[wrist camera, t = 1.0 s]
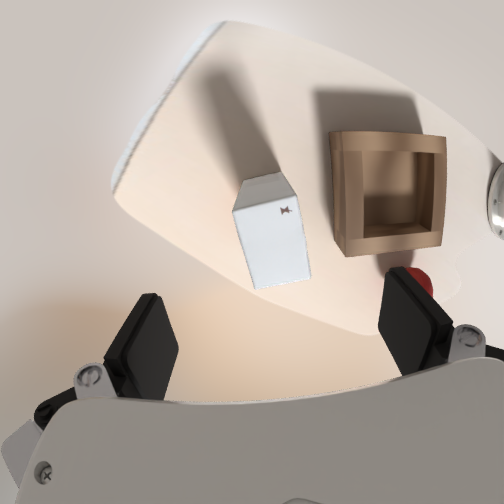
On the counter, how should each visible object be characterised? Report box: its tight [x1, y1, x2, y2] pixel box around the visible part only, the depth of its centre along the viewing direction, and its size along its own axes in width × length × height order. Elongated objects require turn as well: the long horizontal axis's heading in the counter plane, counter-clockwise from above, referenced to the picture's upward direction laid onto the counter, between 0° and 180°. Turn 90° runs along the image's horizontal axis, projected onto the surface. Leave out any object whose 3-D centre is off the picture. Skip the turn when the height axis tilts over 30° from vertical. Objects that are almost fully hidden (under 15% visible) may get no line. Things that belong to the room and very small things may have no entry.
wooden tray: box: [329, 131, 447, 257], centre depth 25 cm, size 12×12×4 cm
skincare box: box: [232, 172, 311, 289], centre depth 23 cm, size 6×4×12 cm
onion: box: [405, 267, 433, 298], centre depth 28 cm, size 6×6×8 cm
